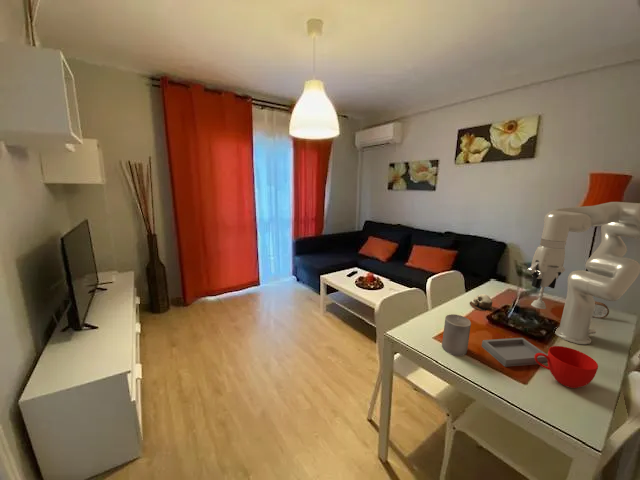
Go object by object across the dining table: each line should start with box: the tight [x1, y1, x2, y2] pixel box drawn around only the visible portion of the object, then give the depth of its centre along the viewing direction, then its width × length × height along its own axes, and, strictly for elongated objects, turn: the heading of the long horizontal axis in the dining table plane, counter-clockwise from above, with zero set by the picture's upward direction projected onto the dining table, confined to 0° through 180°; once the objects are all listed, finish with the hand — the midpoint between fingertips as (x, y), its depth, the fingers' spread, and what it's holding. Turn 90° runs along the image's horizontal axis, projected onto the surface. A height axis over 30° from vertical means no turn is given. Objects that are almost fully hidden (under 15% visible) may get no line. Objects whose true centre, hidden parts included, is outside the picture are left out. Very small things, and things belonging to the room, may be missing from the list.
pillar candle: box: [441, 314, 472, 357], centre depth 114 cm, size 10×10×15 cm
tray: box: [481, 337, 548, 368], centre depth 112 cm, size 19×13×3 cm
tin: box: [592, 300, 610, 319], centre depth 144 cm, size 15×3×8 cm, turn 58°
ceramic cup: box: [534, 345, 599, 389], centre depth 97 cm, size 13×17×10 cm
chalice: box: [530, 267, 559, 310], centre depth 111 cm, size 7×7×18 cm
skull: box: [469, 293, 495, 312], centre depth 154 cm, size 12×10×10 cm
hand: (542, 286), depth 111 cm, fingers closed on chalice, 5 cm apart
